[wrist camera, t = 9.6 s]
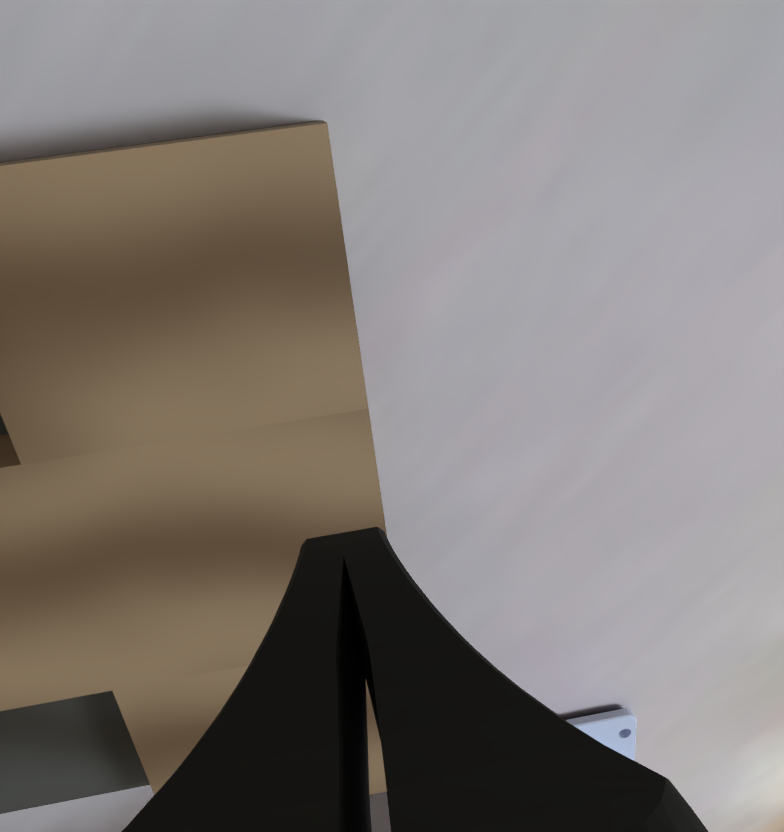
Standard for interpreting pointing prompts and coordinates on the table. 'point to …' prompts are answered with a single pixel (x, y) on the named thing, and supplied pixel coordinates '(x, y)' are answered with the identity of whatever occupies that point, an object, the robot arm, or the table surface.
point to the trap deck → (165, 441)
